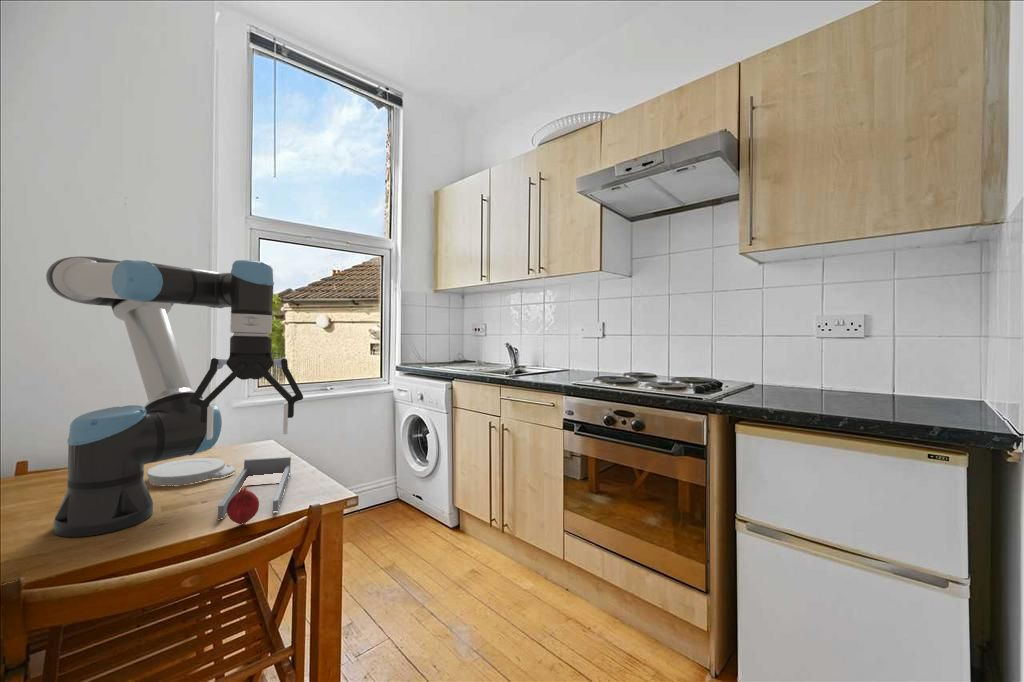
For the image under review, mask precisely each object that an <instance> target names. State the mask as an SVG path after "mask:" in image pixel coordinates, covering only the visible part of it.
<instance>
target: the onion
mask: <svg viewBox="0 0 1024 682" xmlns="http://www.w3.org/2000/svg"><path fill="white" fill-rule="evenodd" d="M247 488H248V486H246V487H245V486H243V487H242V488H241V490H240V492H238V493H237V494H236V495H234V496H233V497H232V499H231V500H230V501H229V503H228V506H227V514H226V515H227V516H228V518H229V519H230V520H231V521H232V522H234V523H236V524H237V525H238V524H239V525H240V524H242V523H245V524H246V522H247V523H248V522H249V521H250V520H251V519H253V517H255V516H256V515H257V513H258V511H259V506H260V499H259V498H258V495H256V494H255V493H254V492H252V491H250V490H248V489H247Z"/></svg>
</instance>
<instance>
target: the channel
mask: <svg viewBox="0 0 1024 682" xmlns="http://www.w3.org/2000/svg"><path fill="white" fill-rule="evenodd" d="M291 464H292V456H283V457H281V456H279V457H266V458H265V457H263V458H249V459H244V461H243V469H242V470H241V471H240V473H239V474H238V476H237V478H236V479H235V481H234V482H233V484H232V485H231V486H230V488H229V489H228V491H227V492H226V494H225V496H224V497H223V498H222V500H221V501H220V503H219V504H218V506H217V520H218V519H221V518H224V519H225V517H226V516H225V514H226V513H227V506H228V503H229V501H230V500H231V499H232V497H233V496H234V495H236V494H237V493H238V492H239V490H240V488H241V487H242V485H243V483H244V481H245V480H246V478H247V477H248V476H253V475H264V474H273V473H283V472H284V473H283V475H282V478H281V481H280V483H279V484H278V486H277V489H276V492H275V494H274V497H273V500H272V512H273V511H278V508H279V505H280V506H281V504H280V502H281V503H282V501H281V499H282V500H283V498H282V496H283V497H284V495H283V493H284V494H285V492H284V489H285V486H286V483H287V480H288V477H289V478H290V476H289V473H290V474H291V467H292V465H291ZM288 481H289V480H288ZM287 484H288V483H287ZM286 487H287V486H286ZM285 490H286V489H285ZM279 509H280V508H279ZM278 512H279V511H278ZM226 515H227V514H226ZM224 516H225V517H224Z"/></svg>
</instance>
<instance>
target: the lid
mask: <svg viewBox="0 0 1024 682" xmlns="http://www.w3.org/2000/svg"><path fill="white" fill-rule="evenodd" d="M233 472H235V473H236V468H235V467H234V466H232V465H230V464H226V462H225V461H224V460H223V459H220V458H214V457H197V458H196V457H195V458H185V459H178V460H173V461H167V462H163V463H160V464H157V465H155V466H153V467H150V468H149V469H148V470H147V471H146V475H147V478H148V483H151V484H154V485H165V486H168V485H169V486H170V485H171V486H172V485H173V486H174V485H184V484H190V483H195V482H199V481H203V480H206V479H212V478H221V477H224V476H227V475H230V474H232V473H233ZM151 484H150V485H151ZM154 485H153V486H154Z"/></svg>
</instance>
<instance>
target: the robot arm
mask: <svg viewBox="0 0 1024 682" xmlns="http://www.w3.org/2000/svg"><path fill="white" fill-rule="evenodd" d="M45 277H46V282H47V285H48V286H49V287H50V289H51V290H52V292H54V293H55V294H56V295H58V296H60V297H61V298H63V299H66V300H68V301H71V302H74V303H79V304H84V305H92V306H106V307H111V310H112V313H113V315H114V316H115V318H117V320H120V321H124V324H125V328H126V330H127V335H128V338H129V341H130V344H131V348H132V351H133V355H134V357H135V361H136V364H137V367H138V371H139V374H140V377H141V380H142V384H143V387H144V389H145V394H146V397H147V400H148V402H147V403H146V404H145V405H143V406H142V405H137V404H136V405H123V406H113V407H107V408H102V409H97V410H93V411H90V412H86V413H84V414H80V415H78V416H77V417H75V418H74V419H73V420H72V421H71V422H70V424H69V425H70V426H69V433H68V438H67V442H66V443H67V445H68V456H67V458H68V459H67V460H68V461H67V486H66V487H67V488H66V489H67V490H66V493H65V495H64V496H63V499H62V501H61V504H60V506H59V507H58V510H57V512H56V515H55V517H54V519H53V529H52V531H53V533H54V535H56V536H59V537H65V538H80V537H89V536H97V535H103V534H104V535H105V534H108V533H113V532H117V531H120V530H123V529H127V528H130V527H133V526H135V525H137V524H140V523H142V522H144V521H146V520H148V518H151V516H152V515H153V513H154V500H153V499H152V496H151V493H150V492H149V489H148V486H147V484H146V482H145V478H144V474H145V473H144V471H145V465H146V464H147V465H148V464H152V463H157V462H161V461H162V462H163V461H167V460H171V459H176V458H182V457H186V456H194V455H195V454H200V453H202V452H207V451H208V450H211V449H212V448H213V447H214V446H215V445H216V443H217V442H218V440H219V438H220V435H221V431H222V425H223V424H222V423H223V422H222V421H223V420H222V414H221V410H220V409H219V407H218V406H217V405H216V404H214V403H212V402H213V401H214V400H215V399H216V398H217V396H218V395H220V394H222V392H223V391H224V390H225V389H226V388H227V387H228V386H229V385H230V384H231V383H232V382H234V380H235V379H236V378H237V379H240V380H242V381H243V380H244V381H245V380H250V379H251V380H260V379H262V378H264V380H266V381H267V382H268V383H269V384H270V385H271V386H272V387H273V388H274V389H275V391H277V393H279V394H280V395H281V397H283V399H284V400H285V401H287V402H283V428H282V431H283V432H282V435H288V423H289V422H288V421H289V420H288V419H291V418H292V419H293V418H294V415H295V413H294V411H295V403H296V402H298V401H303V399H304V395H303V393H302V391H301V390H300V387H299V386H298V383H297V382H296V379H295V378H294V376H293V374H292V372H291V371H290V369H289V365H288V359H287V358H286V357H282V358H276V359H273V357H272V347H273V345H272V344H273V343H272V341H273V340H272V336H269V335H270V334H272V333H273V307H274V306H273V305H274V301H273V300H274V285H275V282H274V268H273V267H272V265H271V264H269V263H267V262H263V261H259V260H258V261H256V260H249V259H248V260H247V259H246V260H245V259H241V260H235V261H233V263H232V266H231V270H230V272H218V271H213V270H212V271H211V270H205V269H198V268H196V269H195V268H189V267H182V266H181V267H180V266H176V265H175V266H173V265H167V264H162V263H157V262H150V261H146V260H131V259H123V260H115V259H109V258H101V257H95V256H69V257H63V258H60V259H58V260H56V261H54V262H52V264H51V265H49V267H48V269H47V270H46V275H45ZM175 304H179V305H189V306H190V305H191V306H200V307H202V306H203V307H207V308H213V309H214V308H216V309H224V308H230V329H229V330H230V333H231V334H233V335H231V337H229V338H230V339H229V357H228V358H227V359H225V358H219V357H217V356H216V357H213V358H212V359H210V364H209V369H208V371H207V372H206V374H205V376H204V377H203V379H202V381H201V382H200V384H199V385H198V387H197V388H196V390H193V388H192V385H191V383H190V379H189V377H188V374H187V370H186V368H185V364H184V361H183V359H182V356H181V352H180V349H179V346H178V344H177V341H176V338H175V335H174V331H173V328H172V326H171V323H170V320H169V316H168V314H169V312H170V311H171V310H172V307H173V306H174V305H175ZM225 365H226V366H227V367H228V368H229V369H230V370H231V373H230V374H228V376H227V377H226V378H225V379H224V380H223V381H222V382H221V383H220V384H218V385H217V386H216V388H215V389H214V390H213V391H211V393H209V394H208V395H207V396H206V397H205V398H204V397H203V395H204V393H205V391H206V390H207V388H208V387H209V384H210V383H211V382H212V380H213V379H214V377H215V375H216V374H217V372H218V370H221V369H222V368H223V367H224V366H225ZM274 365H275V366H277V369H281V370H282V372H283V375H284V376H285V379H286V380H287V382H288V384H289V385H290V387H291V389H292V391H293V393H294V394H293V395H292V394H290V392H288V390H286V388H285V387H284V386H283V385H282V384H281V383H280V382H279V381H278V380H277V379H276V377H274V376H273V375H272V373H271V372H270V370H271V368H272V367H273V366H274Z"/></svg>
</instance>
